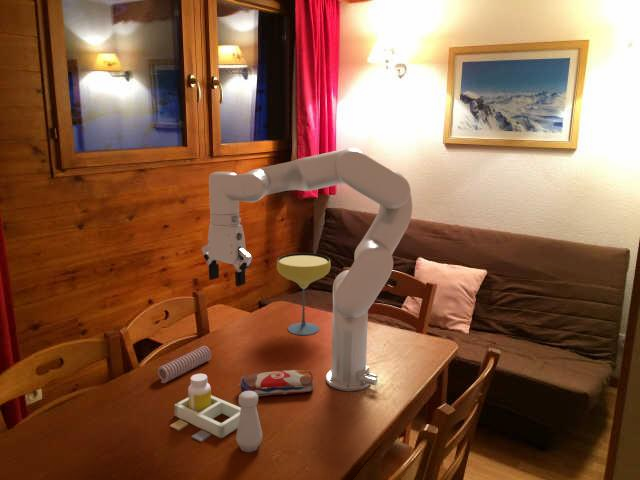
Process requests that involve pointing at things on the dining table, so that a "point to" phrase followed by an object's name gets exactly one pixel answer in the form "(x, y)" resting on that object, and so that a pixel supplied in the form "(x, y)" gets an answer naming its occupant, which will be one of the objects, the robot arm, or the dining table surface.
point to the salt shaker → (248, 422)
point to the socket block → (210, 416)
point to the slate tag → (201, 435)
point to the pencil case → (278, 382)
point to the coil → (184, 364)
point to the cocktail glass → (303, 280)
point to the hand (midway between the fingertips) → (227, 281)
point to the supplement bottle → (199, 393)
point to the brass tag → (179, 425)
